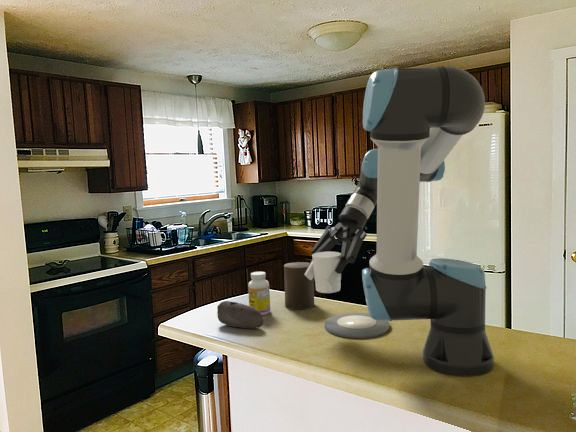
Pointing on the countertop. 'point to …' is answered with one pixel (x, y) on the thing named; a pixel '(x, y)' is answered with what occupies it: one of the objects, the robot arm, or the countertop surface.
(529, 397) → the countertop surface
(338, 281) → the white cup
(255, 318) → the perforated stone tool
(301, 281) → the pillar candle
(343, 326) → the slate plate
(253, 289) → the supplement bottle
